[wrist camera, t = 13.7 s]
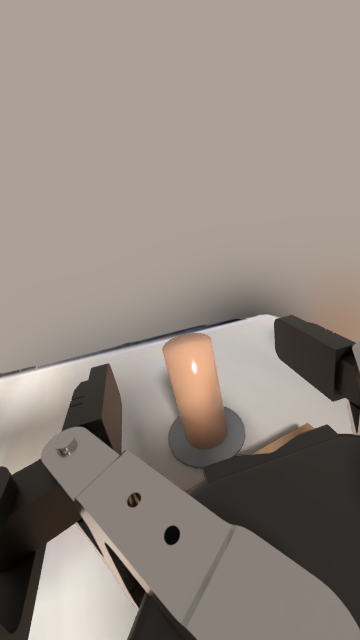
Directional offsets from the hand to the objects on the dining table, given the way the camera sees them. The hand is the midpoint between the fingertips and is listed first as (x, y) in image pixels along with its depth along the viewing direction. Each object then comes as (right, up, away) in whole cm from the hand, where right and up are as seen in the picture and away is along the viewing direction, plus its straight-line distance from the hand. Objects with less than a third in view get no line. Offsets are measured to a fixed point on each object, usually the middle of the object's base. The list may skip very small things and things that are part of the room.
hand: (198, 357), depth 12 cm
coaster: (+3, -13, +21) cm, 25 cm away
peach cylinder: (+3, -13, +21) cm, 25 cm away
